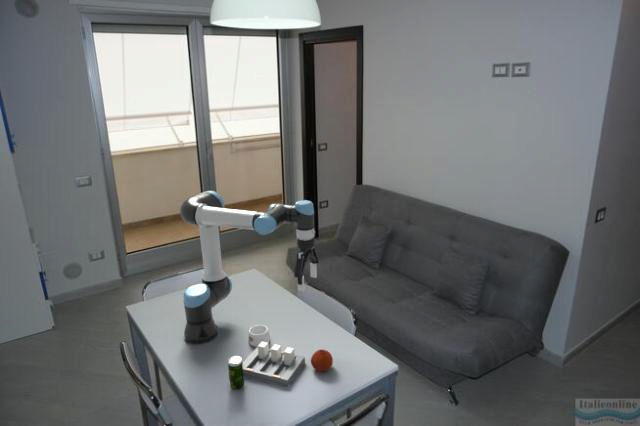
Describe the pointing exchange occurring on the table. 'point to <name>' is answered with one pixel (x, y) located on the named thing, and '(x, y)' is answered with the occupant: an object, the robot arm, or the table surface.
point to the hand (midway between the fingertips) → (307, 283)
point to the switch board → (272, 368)
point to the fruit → (322, 360)
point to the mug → (258, 335)
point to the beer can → (236, 373)
